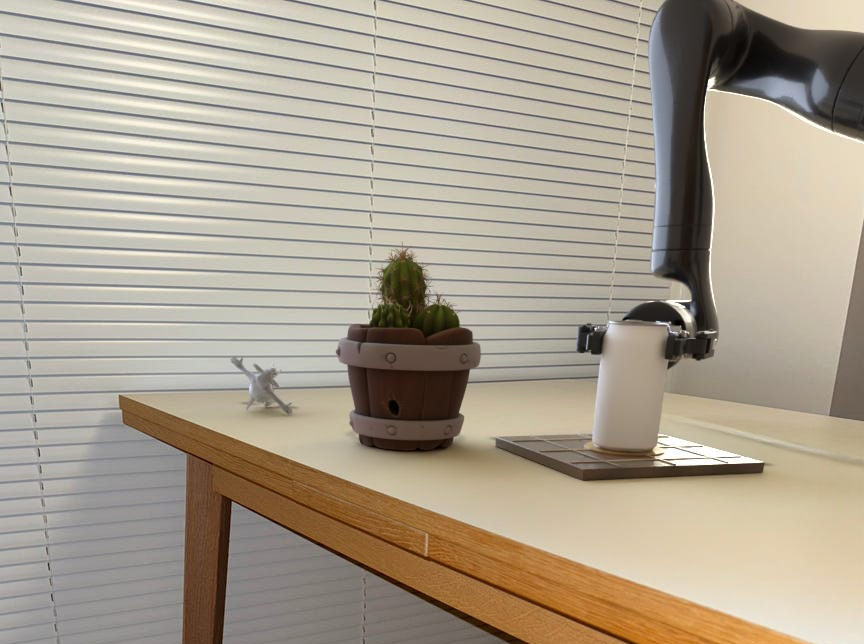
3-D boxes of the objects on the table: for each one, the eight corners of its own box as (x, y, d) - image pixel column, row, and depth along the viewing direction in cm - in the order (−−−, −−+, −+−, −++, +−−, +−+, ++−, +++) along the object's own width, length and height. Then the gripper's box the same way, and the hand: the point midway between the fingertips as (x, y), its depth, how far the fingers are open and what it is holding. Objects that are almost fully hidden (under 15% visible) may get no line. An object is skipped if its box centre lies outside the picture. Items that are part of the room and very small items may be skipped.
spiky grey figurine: (307, 408, 126) (308, 391, 117) (276, 441, 126) (274, 427, 117) (250, 355, 125) (246, 334, 116) (219, 388, 125) (212, 370, 116)
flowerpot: (492, 456, 96) (508, 240, 89) (340, 455, 94) (343, 233, 87) (461, 433, 110) (473, 243, 103) (327, 431, 108) (329, 238, 100)
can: (668, 448, 97) (685, 323, 93) (635, 455, 93) (651, 325, 89) (612, 439, 102) (626, 319, 97) (578, 445, 97) (591, 320, 93)
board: (654, 441, 109) (656, 431, 108) (763, 472, 93) (765, 461, 93) (494, 446, 102) (495, 435, 102) (582, 480, 86) (583, 468, 86)
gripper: (594, 297, 107) (561, 300, 93) (730, 303, 102) (717, 307, 88) (587, 367, 110) (554, 380, 96) (718, 376, 105) (704, 391, 91)
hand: (632, 345), depth 92 cm, fingers closed on can, 6 cm apart
